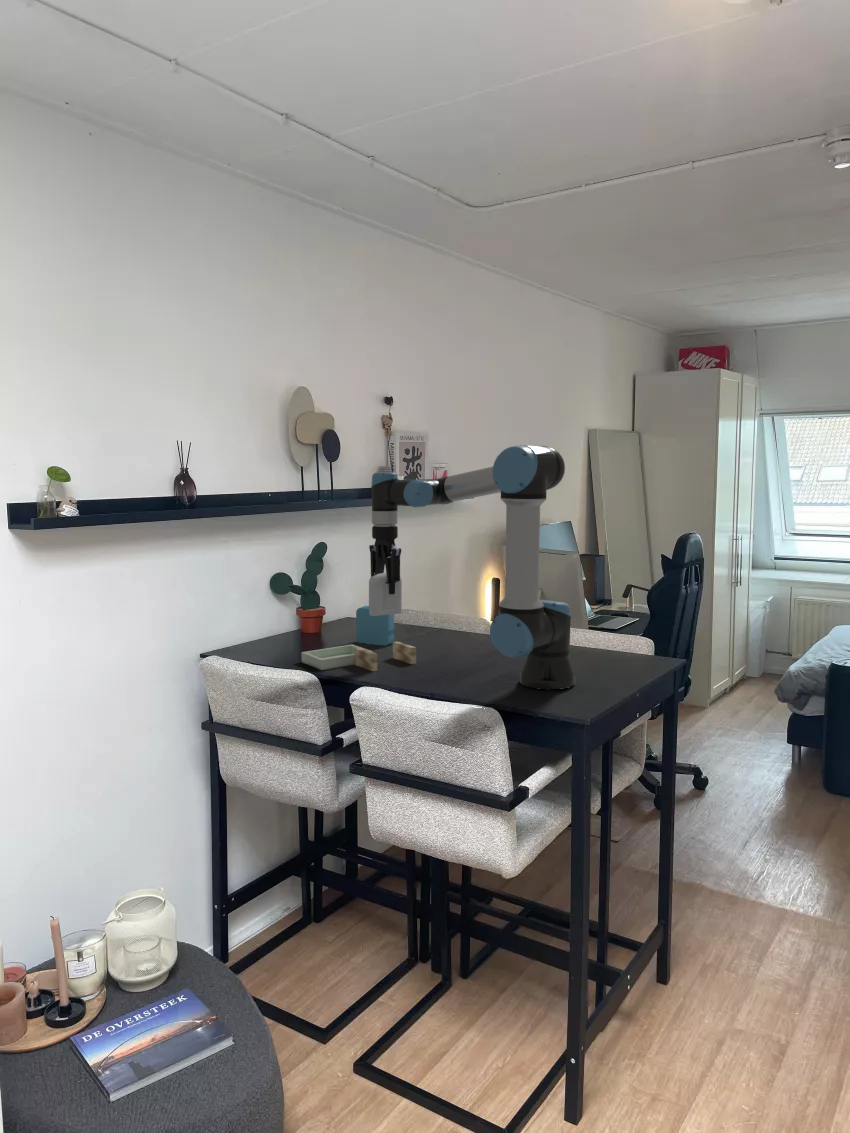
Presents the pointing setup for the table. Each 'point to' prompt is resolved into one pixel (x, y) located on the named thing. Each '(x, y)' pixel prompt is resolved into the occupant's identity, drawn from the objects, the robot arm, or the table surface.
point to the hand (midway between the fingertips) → (385, 603)
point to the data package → (374, 627)
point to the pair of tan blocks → (370, 658)
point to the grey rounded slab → (383, 596)
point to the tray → (330, 657)
